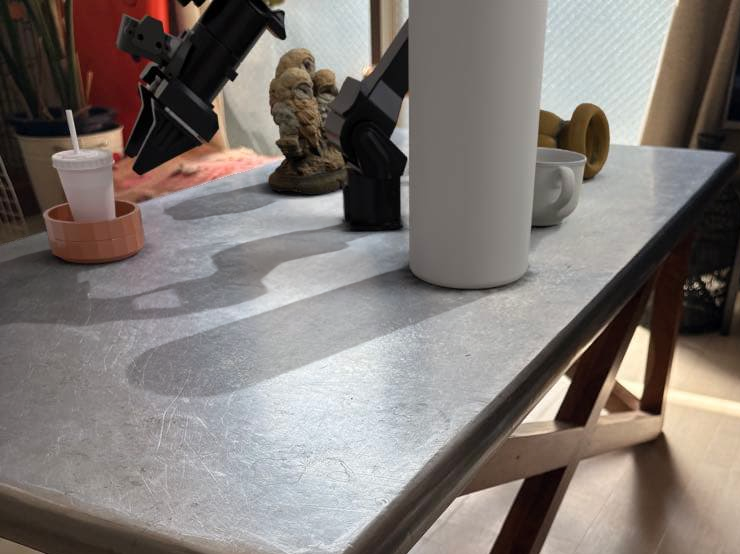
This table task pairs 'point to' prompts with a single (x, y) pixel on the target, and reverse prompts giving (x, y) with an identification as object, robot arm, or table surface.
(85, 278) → the table surface
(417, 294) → the table surface
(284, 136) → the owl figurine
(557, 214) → the teacup
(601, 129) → the brown looped sculpture
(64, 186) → the smoothie
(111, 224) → the bowl
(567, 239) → the table surface
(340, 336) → the table surface
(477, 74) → the cylinder vase
